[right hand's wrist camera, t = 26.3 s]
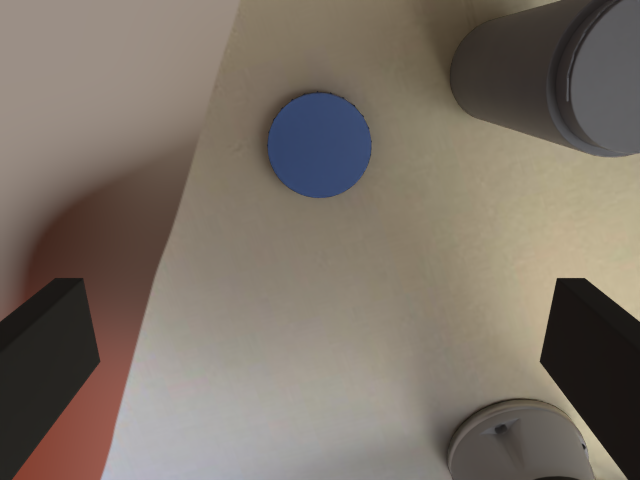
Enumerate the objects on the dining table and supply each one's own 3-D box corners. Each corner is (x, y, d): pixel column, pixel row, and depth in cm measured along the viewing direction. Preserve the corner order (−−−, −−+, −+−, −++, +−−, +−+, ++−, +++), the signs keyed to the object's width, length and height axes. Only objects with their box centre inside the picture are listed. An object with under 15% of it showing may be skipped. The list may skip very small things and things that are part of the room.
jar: (546, 8, 37) (759, -48, 19) (547, 111, 39) (732, 146, 22) (445, 28, 37) (560, -7, 19) (453, 128, 40) (560, 176, 22)
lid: (258, 178, 42) (256, 183, 40) (282, 78, 38) (281, 78, 37) (352, 204, 42) (353, 210, 41) (383, 108, 39) (386, 110, 38)
